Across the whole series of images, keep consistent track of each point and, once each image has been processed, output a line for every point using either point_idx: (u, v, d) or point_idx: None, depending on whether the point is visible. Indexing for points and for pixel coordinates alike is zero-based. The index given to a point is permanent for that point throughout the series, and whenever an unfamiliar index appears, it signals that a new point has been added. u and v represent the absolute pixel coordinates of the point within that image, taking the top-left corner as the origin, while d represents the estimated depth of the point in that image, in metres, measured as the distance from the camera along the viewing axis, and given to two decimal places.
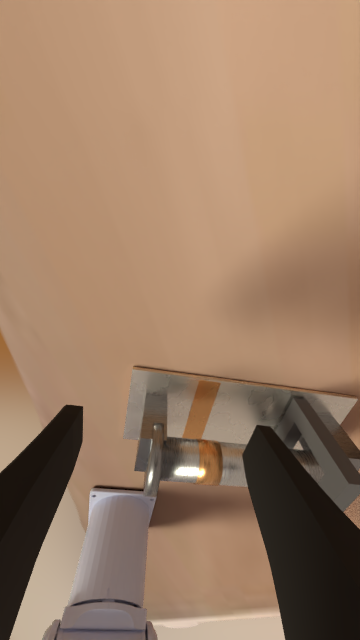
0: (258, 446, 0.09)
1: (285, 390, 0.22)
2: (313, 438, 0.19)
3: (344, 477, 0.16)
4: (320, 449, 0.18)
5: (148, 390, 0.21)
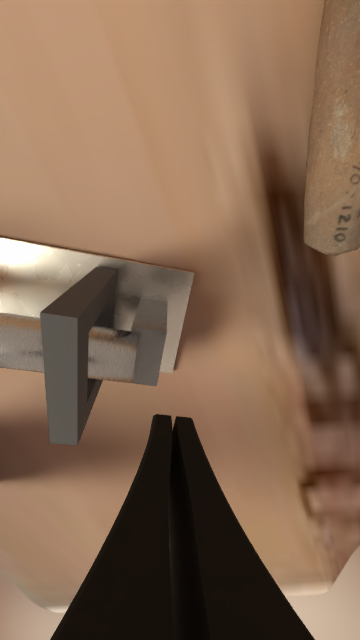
0: (174, 438, 0.09)
1: (82, 254, 0.15)
2: None
3: (46, 309, 0.09)
4: None
5: None
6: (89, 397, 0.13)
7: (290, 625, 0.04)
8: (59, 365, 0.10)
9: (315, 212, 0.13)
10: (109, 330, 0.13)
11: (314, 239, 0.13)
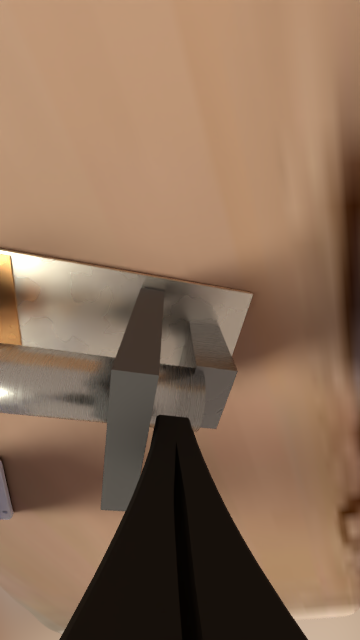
0: None
1: (127, 273, 0.13)
2: None
3: (115, 361, 0.07)
4: None
5: None
6: None
7: (283, 625, 0.04)
8: (126, 428, 0.08)
9: None
10: (169, 369, 0.11)
11: None
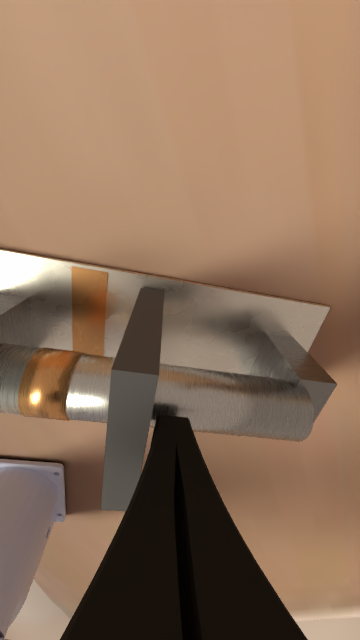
0: None
1: (214, 288, 0.14)
2: None
3: (115, 361, 0.07)
4: None
5: None
6: None
7: (283, 625, 0.04)
8: (126, 428, 0.08)
9: None
10: (272, 382, 0.12)
11: None
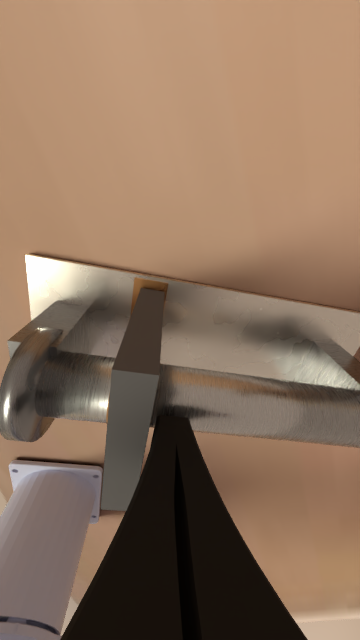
0: None
1: (269, 298, 0.14)
2: None
3: (115, 361, 0.07)
4: None
5: (58, 296, 0.14)
6: None
7: (283, 625, 0.04)
8: (126, 428, 0.08)
9: None
10: (335, 390, 0.12)
11: None
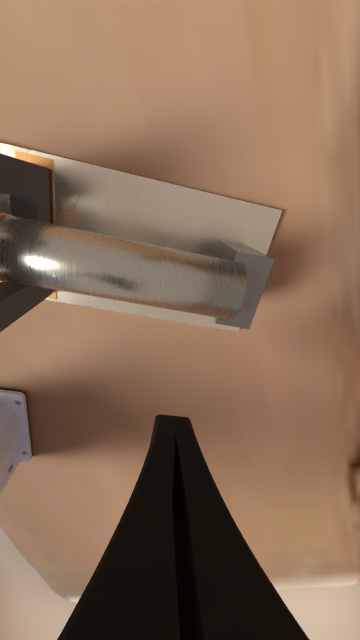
0: None
1: (163, 183, 0.14)
2: None
3: None
4: None
5: None
6: None
7: (284, 625, 0.04)
8: None
9: None
10: (209, 256, 0.11)
11: None
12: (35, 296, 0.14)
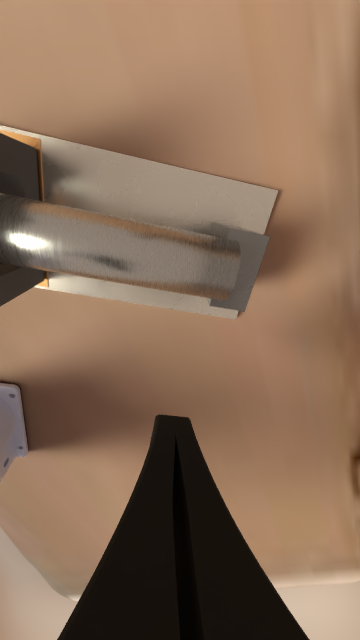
0: None
1: (154, 163, 0.13)
2: None
3: None
4: None
5: None
6: None
7: (284, 625, 0.04)
8: None
9: None
10: (202, 234, 0.11)
11: None
12: (24, 281, 0.14)
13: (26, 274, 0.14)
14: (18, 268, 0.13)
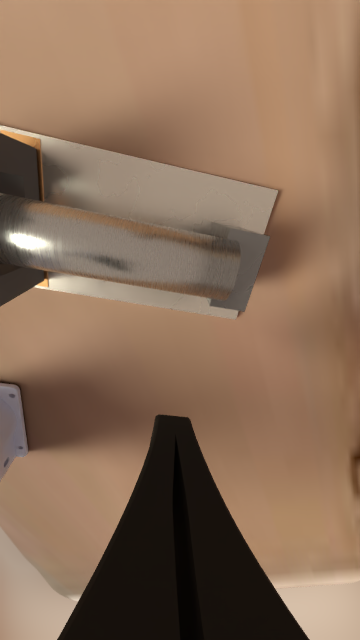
0: None
1: (154, 163, 0.13)
2: None
3: None
4: None
5: None
6: None
7: (284, 625, 0.04)
8: None
9: None
10: (202, 234, 0.11)
11: None
12: (24, 281, 0.14)
13: (26, 274, 0.14)
14: (18, 268, 0.13)
